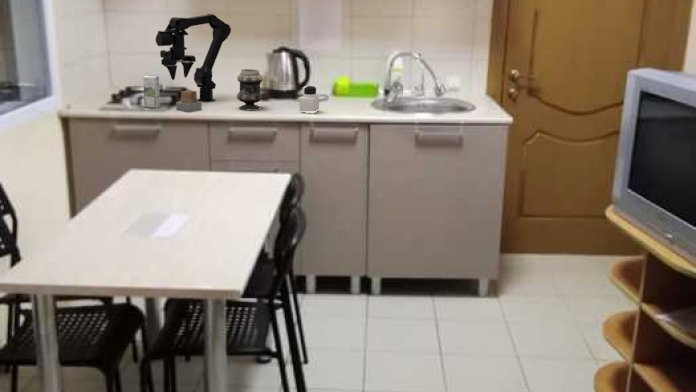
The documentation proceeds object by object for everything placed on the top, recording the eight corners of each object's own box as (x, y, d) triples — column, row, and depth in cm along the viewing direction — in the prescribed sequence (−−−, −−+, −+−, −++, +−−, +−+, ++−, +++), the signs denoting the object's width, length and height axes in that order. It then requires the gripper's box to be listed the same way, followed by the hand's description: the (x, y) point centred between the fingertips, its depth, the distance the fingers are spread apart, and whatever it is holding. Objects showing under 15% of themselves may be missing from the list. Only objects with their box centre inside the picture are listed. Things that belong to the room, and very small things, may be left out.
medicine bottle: (319, 111, 348) (319, 86, 345) (313, 114, 342) (314, 88, 338) (305, 110, 351) (305, 84, 347) (299, 112, 344) (299, 86, 341)
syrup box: (160, 106, 347) (159, 75, 343) (156, 108, 342) (154, 76, 337) (148, 105, 348) (147, 74, 343) (144, 107, 342) (142, 76, 338)
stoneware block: (189, 108, 346) (188, 99, 345) (201, 110, 342) (201, 102, 341) (176, 110, 340) (176, 102, 339) (189, 113, 336) (188, 104, 334)
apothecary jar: (268, 108, 350) (268, 70, 345) (248, 111, 342) (247, 72, 336) (251, 104, 358) (251, 67, 352) (231, 107, 349) (231, 69, 344)
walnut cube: (187, 100, 343) (187, 90, 341) (196, 102, 341) (196, 91, 339) (181, 102, 338) (181, 91, 337) (190, 103, 337) (190, 92, 335)
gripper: (177, 42, 358) (178, 74, 362) (151, 45, 341) (152, 79, 346) (195, 44, 353) (196, 76, 358) (170, 47, 337) (172, 81, 342)
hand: (179, 78), depth 351 cm, fingers open, 9 cm apart
